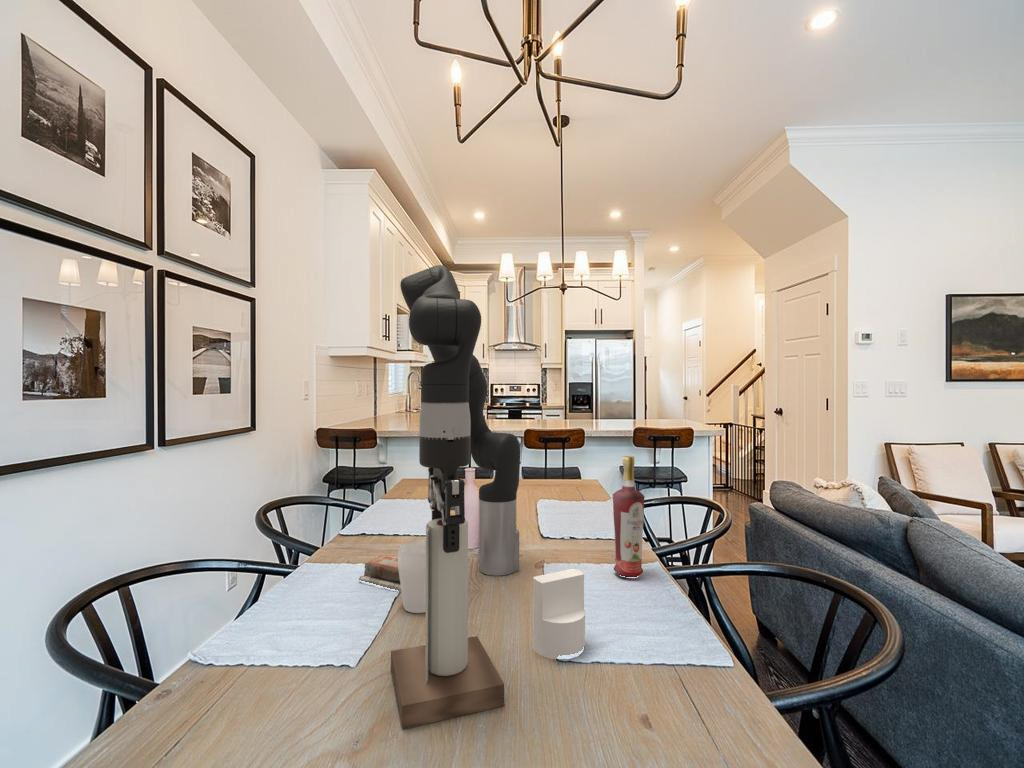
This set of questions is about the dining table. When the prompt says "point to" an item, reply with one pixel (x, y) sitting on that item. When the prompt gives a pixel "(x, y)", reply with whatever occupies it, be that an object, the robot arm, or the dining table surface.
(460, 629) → the paper towel roll
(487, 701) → the walnut stand
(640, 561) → the liquor
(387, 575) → the packaged product
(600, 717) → the dining table surface
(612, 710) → the dining table surface
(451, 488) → the robot arm
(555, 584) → the cylinder with rectangular tab
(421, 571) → the cup
